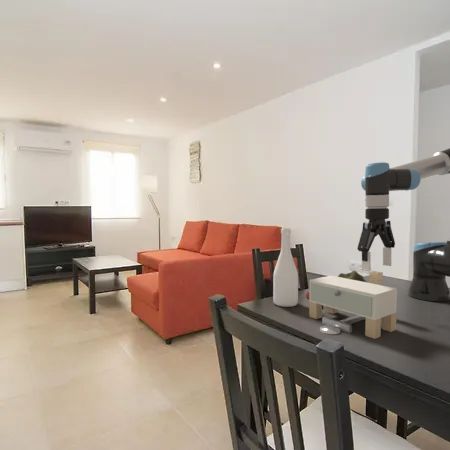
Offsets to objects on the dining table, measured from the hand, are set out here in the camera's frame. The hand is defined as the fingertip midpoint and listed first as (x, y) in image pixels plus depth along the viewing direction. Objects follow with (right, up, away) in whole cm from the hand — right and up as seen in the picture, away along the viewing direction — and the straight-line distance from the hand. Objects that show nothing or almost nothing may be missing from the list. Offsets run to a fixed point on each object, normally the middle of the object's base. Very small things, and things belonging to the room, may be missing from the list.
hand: (377, 268), depth 117 cm
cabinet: (-12, -17, -8) cm, 23 cm away
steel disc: (-21, -18, -15) cm, 31 cm away
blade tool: (-8, -17, -5) cm, 19 cm away
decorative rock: (+3, -15, +28) cm, 32 cm away
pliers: (-16, -16, +16) cm, 29 cm away
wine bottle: (-30, -16, +14) cm, 37 cm away
